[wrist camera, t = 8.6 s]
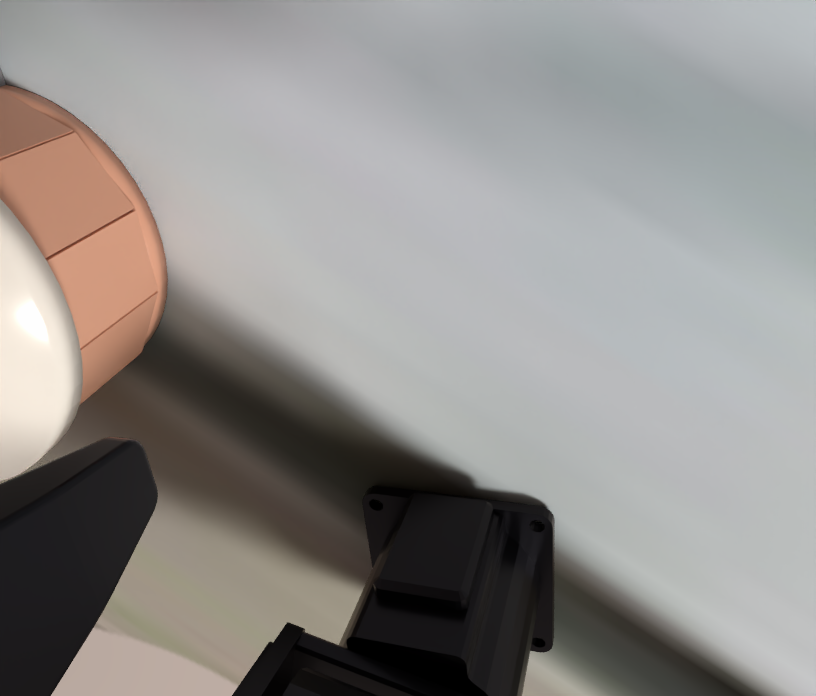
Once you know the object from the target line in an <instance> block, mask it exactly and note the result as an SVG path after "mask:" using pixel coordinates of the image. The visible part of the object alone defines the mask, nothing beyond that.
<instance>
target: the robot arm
mask: <svg viewBox="0 0 816 696" xmlns="http://www.w3.org/2000/svg"><path fill="white" fill-rule="evenodd" d="M157 497H158V492H157V487H156V483H155V480H154V477H153V474H152V471H151V468H150V465H149V462H148V459H147V456H146V453H145V450H144V448H143V446H142V445H141V444H140V443H139V441H136V440H134V439H127V438H118V437H107V438H104V439H101V440H99V441H97V442H95V443H92V444H90V445H88V446H86V447H83V448H81V449H79V450H76V451H74V452H72V453H70V454H67V455H65V456H63V457H61V458H58V459H56V460H54V461H51V462H49V463H47V464H45V465H42V466H40V467H38V468H36V469H33V470H31V471H29V472H26V473H24V474H22V475H20V476H17V477H15V478H13V479H11V480H8V481H6V482H4V483H1V484H0V696H51V694H52V693H53V691H54V690H55V688H56V686H57V685H58V683H59V682H60V680H61V678H62V677H63V675H64V674H65V672H66V670H67V669H68V667H69V666H70V664H71V662H72V661H73V659H74V658H75V656H76V654H77V653H78V651H79V649H80V648H81V647H82V645H83V643H84V642H85V640H86V639H87V637H88V635H89V634H90V632H91V631H92V629H93V627H94V626H95V624H96V622H97V621H98V619H99V617H100V616H101V614H102V612H103V610H104V608H105V607H106V605H107V603H108V601H109V599H110V597H111V595H112V593H113V591H114V589H115V587H116V585H117V583H118V581H119V579H120V577H121V575H122V573H123V571H124V569H125V567H126V565H127V564H128V562H129V560H130V558H131V556H132V554H133V552H134V550H135V548H136V546H137V544H138V542H139V540H140V538H141V536H142V534H143V532H144V530H145V528H146V526H147V524H148V522H149V520H150V518H151V516H152V514H153V512H154V510H155V507H156V503H157ZM374 499H376V500H379V501H380V502H381V503H379V502H376V501H375V500H374ZM363 510H364V516H365V522H366V529H367V535H368V541H369V548H370V554H371V561H372V567H373V569H372V571H371V574H370V576H369V578H368V580H367V583H366V585H365V587H364V589H363V592H362V594H361V596H360V598H359V601H358V603H357V605H356V607H355V610H354V612H353V614H352V616H351V619H350V621H349V623H348V625H347V628H346V630H345V632H344V634H343V637H342V639H341V641H340V643H339V645H337V644H334V643H331V642H329V641H326V640H324V639H321V638H318V637H316V636H313V635H311V634H308V633H305V629H304V628H301V627H299V626H296V625H294V624H291V623H287V624H286V625H285V627H284V628H283V629H282V631H281V632H280V634H279V635H278V637H277V638H276V640H275V641H274V643H273V642H269V643H268V645H267V646H266V647H265V649H264V650H263V652H262V653H261V655H260V656H259V658H258V659H257V660H256V662H255V663H254V665H253V666H252V668H251V669H250V670H249V672H248V673H247V675H246V676H245V678H244V679H243V681H242V682H241V683H240V685H239V686H238V688H237V689H236V691H235V692H234V693H233V695H232V696H522V692H523V687H524V681H525V676H526V670H527V665H528V659H529V654H530V651H536V652H547V651H549V650H550V649H551V648H552V645H553V639H554V516H553V514H552V513H551V512H550V511H549V510H548V509H546V508H544V507H541V506H535V505H527V504H519V503H511V502H503V501H494V500H486V499H478V498H470V497H462V496H454V495H446V494H437V493H429V492H421V491H413V490H405V489H397V488H389V487H381V486H373V487H371V488H369V489H368V490H367V492H366V494H365V496H364V498H363ZM533 520H539V521H541V522H542V523H543V524H538V523H535V522H534V521H533Z"/></svg>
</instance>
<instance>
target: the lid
mask: <svg viewBox="0 0 816 696" xmlns="http://www.w3.org/2000/svg"><path fill="white" fill-rule="evenodd" d="M82 386H83V366H82V355H81V350H80V344H79V338H78V334H77V331H76V327H75V324H74V321H73V317H72V314H71V311H70V309H69V306H68V304H67V301H66V299H65V296H64V294H63V292H62V289H61V287H60V285H59V283H58V281H57V279H56V277H55V275H54V274H53V272H52V270H51V268H50V266H49V264H48V262H47V260H46V259H45V257H44V256H43V254H42V253H41V251H40V250H39V248H38V247H37V245H36V243H35V242H34V240H33V239H32V237H31V236H30V234H29V233H28V232H27V230H26V229H25V228H24V227H23V225H22V224H21V223H20V221H19V220H18V219H17V218H16V216H15V215H14V214H13V212H12V211H11V210H10V209H9V208H8V207H7V206H6V204H5V203H4V202H3V201H2V200H1V199H0V481H2V480H6V479H9V478H12V477H14V476H16V475H18V474H20V473H22V472H24V471H25V470H26V469H28V468H29V467H30V466H32V465H33V464H34V463H36V462H37V461H38V460H39V459H40V458H41V457H42V456H44V455H45V454H46V453H47V452H48V451H49V450H50V449H52V448H53V447H54V446H55V445H56V444H57V443H58V442H59V441H60V440H61V439H62V438H63V436H64V435H65V434H66V433H67V432H68V430H69V428H70V427H71V425H72V423H73V421H74V419H75V417H76V414H77V411H78V408H79V404H80V401H81V394H82Z"/></svg>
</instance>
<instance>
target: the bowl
mask: <svg viewBox="0 0 816 696" xmlns="http://www.w3.org/2000/svg"><path fill="white" fill-rule="evenodd" d="M0 199H1V200H2V201H3V202H4V203H5V204H6V206H7V207H8V208H9V209H10V210H11V211H12V212H13V214H14V215H15V216H16V218H17V219H18V220H19V221H20V223H21V224H22V225H23V227H24V228H25V229H26V230H27V232H28V233H29V234H30V236H31V237H32V239H33V240H34V242H35V243H36V245H37V247H38V248H39V250H40V251H41V253H42V254H43V256H44V257H45V259H46V260H47V262H48V264H49V266H50V268H51V270H52V272H53V274H54V275H55V277H56V279H57V281H58V283H59V285H60V287H61V289H62V292H63V294H64V296H65V299H66V301H67V304H68V306H69V309H70V311H71V314H72V317H73V321H74V324H75V327H76V331H77V334H78V338H79V344H80V350H81V355H82V366H83V386H82V394H81V401H80V404H81V403H83V402H84V401H85V400H86V399H87V398H89V397H90V396H91V395H92V394H93V393H94V392H96V391H97V390H98V389H99V388H100V387H102V386H103V385H104V384H105V383H106V382H107V381H109V380H110V379H111V378H112V377H113V376H115V375H116V374H117V373H118V372H119V371H120V370H122V369H123V368H124V367H125V366H126V365H128V364H129V363H130V362H131V361H132V360H133V359H135V358H136V357H137V356H138V355H139V354H141V352H142V350H143V347H144V346H145V344H146V343H147V342H148V341H149V340H150V339H151V338H152V336H153V334H154V332H155V331H156V329H157V327H158V326H159V323H160V320H161V318H162V315H163V312H164V308H165V303H166V298H167V282H168V278H167V266H166V258H165V253H164V248H163V244H162V240H161V237H160V234H159V231H158V228H157V225H156V222H155V219H154V217H153V215H152V213H151V210H150V208H149V206H148V204H147V201H146V200H145V198H144V196H143V194H142V193H141V191H140V189H139V187H138V186H137V184H136V182H135V181H134V179H133V178H132V176H131V175H130V174H129V172H128V171H127V169H126V168H125V166H124V165H123V164H122V162H121V161H120V160H119V159H118V158H117V156H116V155H115V154H114V153H113V152H112V151H111V149H110V148H109V147H108V146H107V145H106V144H105V143H104V142H103V141H102V140H101V139H100V138H99V137H98V136H97V135H96V134H95V133H94V132H93V131H92V130H91V129H90V128H88V127H87V126H86V125H84V124H83V123H82V122H81V121H79V120H78V119H77V118H76V117H74V116H73V115H72V114H70V113H69V112H67V111H66V110H64V109H62V108H61V107H59V106H58V105H56V104H55V103H53V102H51V101H49V100H47V99H45V98H43V97H41V96H39V95H36V94H34V93H32V92H29V91H26V90H23V89H20V88H17V87H14V86H8V85H5V86H1V87H0ZM80 404H79V405H80Z"/></svg>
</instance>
